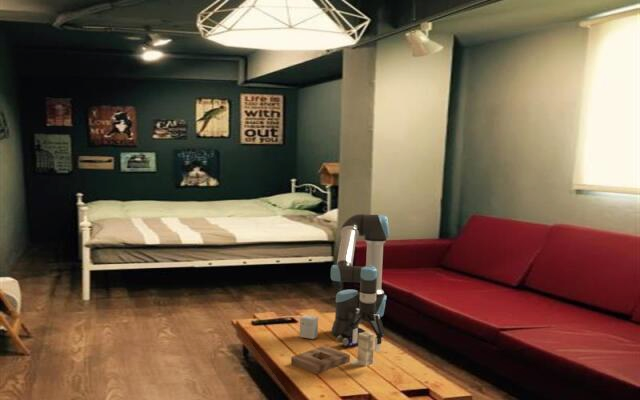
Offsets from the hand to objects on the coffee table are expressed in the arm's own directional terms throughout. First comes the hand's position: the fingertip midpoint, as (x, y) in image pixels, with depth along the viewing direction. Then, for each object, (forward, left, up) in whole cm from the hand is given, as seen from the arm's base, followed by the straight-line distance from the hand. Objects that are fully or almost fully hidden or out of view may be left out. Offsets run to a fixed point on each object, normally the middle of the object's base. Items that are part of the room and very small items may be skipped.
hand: (365, 346), depth 265 cm
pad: (0, 0, -9) cm, 9 cm away
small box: (-7, -44, -9) cm, 45 cm away
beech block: (0, 0, -8) cm, 8 cm away
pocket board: (+15, -14, -9) cm, 22 cm away
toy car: (-7, -22, -6) cm, 24 cm away
